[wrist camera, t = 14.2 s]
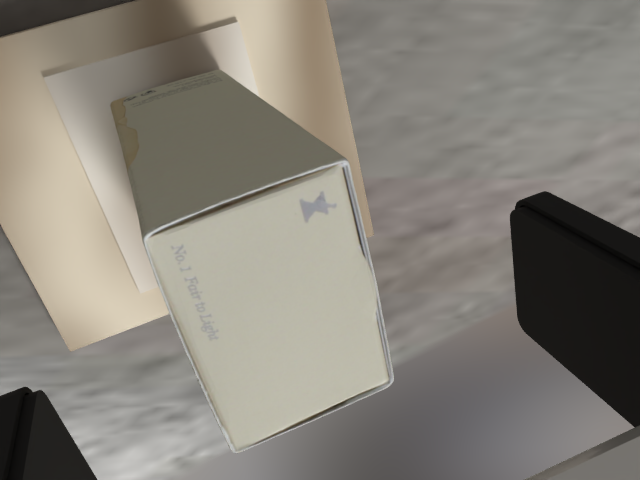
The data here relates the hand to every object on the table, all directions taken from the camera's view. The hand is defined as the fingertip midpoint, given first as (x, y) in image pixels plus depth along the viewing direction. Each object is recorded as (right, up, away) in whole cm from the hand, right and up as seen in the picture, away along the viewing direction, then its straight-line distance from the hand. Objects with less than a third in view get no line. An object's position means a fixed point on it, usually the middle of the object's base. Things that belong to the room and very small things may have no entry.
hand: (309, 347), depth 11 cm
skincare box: (-5, +5, +12) cm, 14 cm away
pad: (-5, +5, +12) cm, 15 cm away
